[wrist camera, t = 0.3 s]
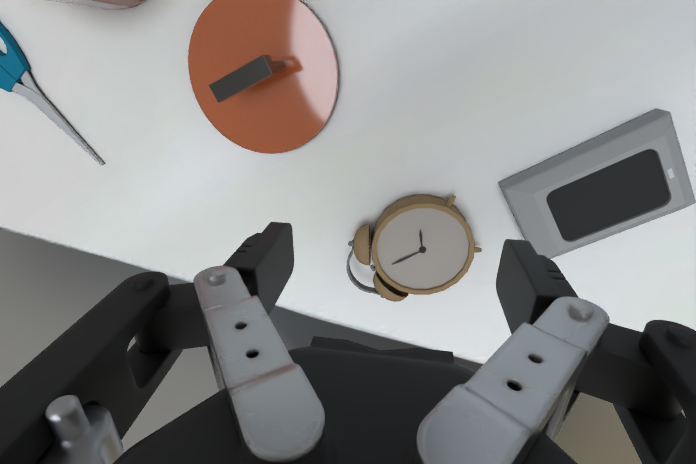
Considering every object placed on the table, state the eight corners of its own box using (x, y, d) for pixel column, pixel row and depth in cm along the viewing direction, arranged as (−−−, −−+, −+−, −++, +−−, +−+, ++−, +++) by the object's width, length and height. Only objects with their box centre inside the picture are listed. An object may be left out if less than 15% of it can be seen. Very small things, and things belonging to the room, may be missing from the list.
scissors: (-33, -4, 39) (115, 149, 44) (-24, -3, 40) (120, 148, 45) (-57, 41, 41) (86, 181, 47) (-48, 41, 42) (91, 178, 48)
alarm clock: (493, 269, 41) (374, 327, 44) (478, 251, 46) (372, 304, 48) (451, 182, 38) (324, 251, 40) (439, 173, 42) (327, 235, 45)
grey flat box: (506, 193, 37) (681, 114, 31) (498, 182, 40) (655, 108, 35) (541, 269, 39) (707, 207, 34) (531, 252, 43) (681, 194, 38)
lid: (165, 35, 39) (121, 31, 33) (294, -49, 34) (270, -71, 28) (242, 171, 44) (217, 189, 38) (364, 116, 39) (356, 127, 33)
